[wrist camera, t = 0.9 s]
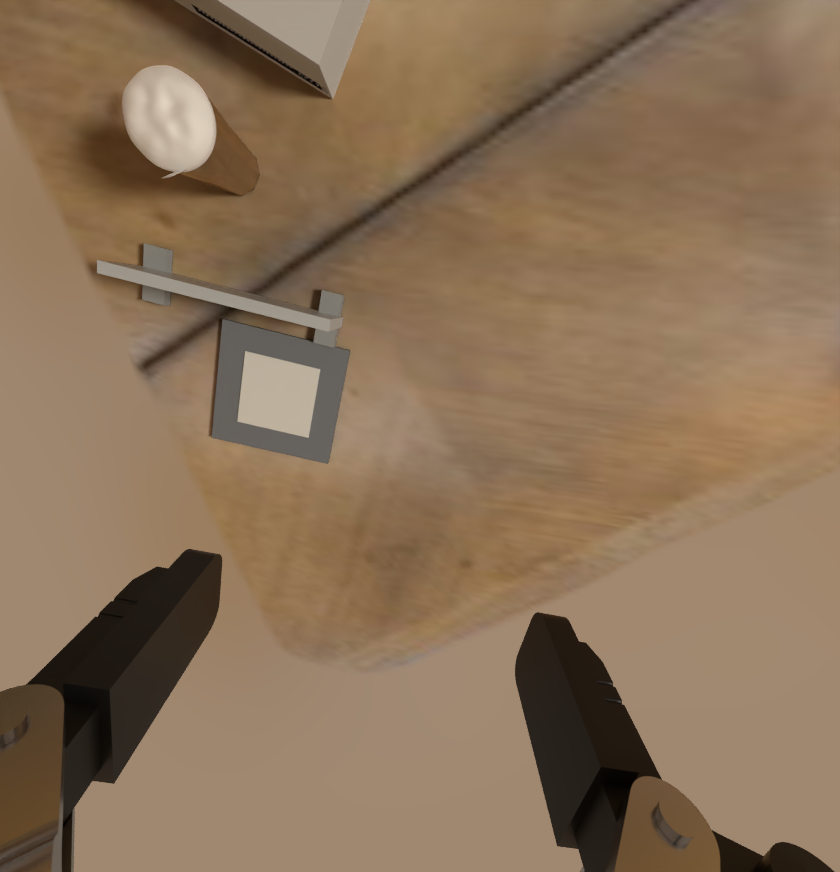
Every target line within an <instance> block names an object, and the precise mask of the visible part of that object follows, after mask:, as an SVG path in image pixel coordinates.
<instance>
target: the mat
mask: <svg viewBox="0 0 840 872" xmlns="http://www.w3.org/2000/svg"><path fill="white" fill-rule="evenodd" d="M313 342H314V341H311V340H307V339H303V338H299V337H295V336H291V335H287V334H283V333H279V332H275V331H271V330H267V329H263V328H259V327H255V326H251V325H247V324H243V323H239V322H235V321H231V320H227V319H222V330H221V341H220V352H219V363H218V374H217V385H216V395H215V406H214V417H213V428H212V438H215V439H220V440H224V441H229V442H233V443H238V444H242V445H247V446H251V447H256V448H260V449H264V450H269V451H273V452H278V453H282V454H287V455H291V456H296V457H300V458H304V459H309V460H313V461H318V462H322V463H327V464H328V462H329V458H330V453H331V447H332V442H333V437H334V432H335V427H336V421H337V416H338V411H339V406H340V401H341V396H342V390H343V385H344V380H345V375H346V370H347V364H348V359H349V354H350V350H347V349H343V348H339V347H334V348H333V347H329V346H325V345H321V344H317V343H313Z"/></svg>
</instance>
